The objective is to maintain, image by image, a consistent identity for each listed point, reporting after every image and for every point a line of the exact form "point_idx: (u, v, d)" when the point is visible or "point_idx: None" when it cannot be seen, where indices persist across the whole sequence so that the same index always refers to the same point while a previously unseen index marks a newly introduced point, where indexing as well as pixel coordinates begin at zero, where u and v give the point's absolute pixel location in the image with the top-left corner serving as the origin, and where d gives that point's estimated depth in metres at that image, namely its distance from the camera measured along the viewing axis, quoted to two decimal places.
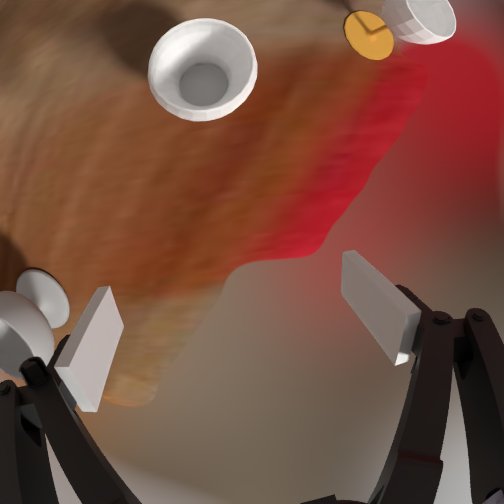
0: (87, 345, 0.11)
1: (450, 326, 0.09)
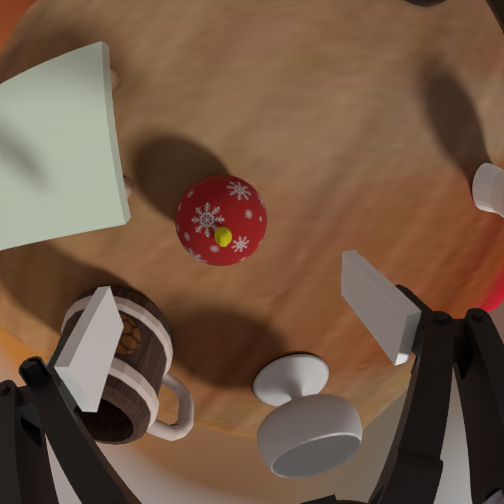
0: (87, 345, 0.11)
1: (450, 326, 0.09)
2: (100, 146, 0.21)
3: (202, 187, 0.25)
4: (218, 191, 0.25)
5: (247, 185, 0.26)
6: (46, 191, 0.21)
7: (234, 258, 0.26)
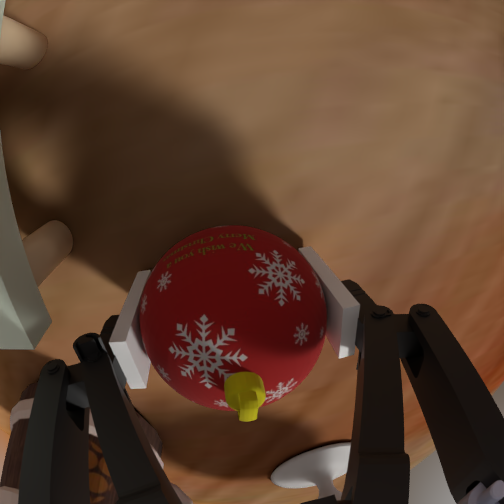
0: (137, 323, 0.12)
1: (390, 319, 0.10)
2: None
3: (190, 269, 0.11)
4: (231, 286, 0.10)
5: (294, 257, 0.12)
6: None
7: None
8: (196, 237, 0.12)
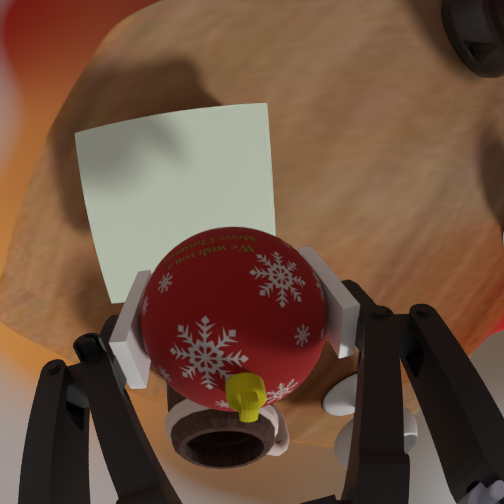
0: (137, 323, 0.12)
1: (390, 319, 0.10)
2: (263, 213, 0.25)
3: (191, 271, 0.11)
4: (232, 287, 0.10)
5: (294, 259, 0.12)
6: None
7: None
8: (197, 238, 0.12)
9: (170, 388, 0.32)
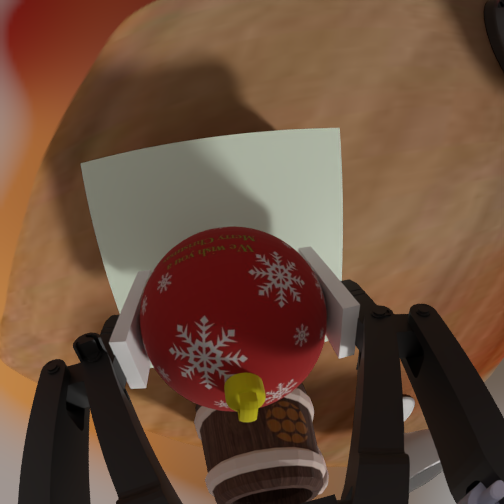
0: (137, 323, 0.12)
1: (390, 319, 0.10)
2: (330, 265, 0.20)
3: (191, 271, 0.11)
4: (231, 287, 0.10)
5: (293, 258, 0.12)
6: None
7: None
8: (196, 238, 0.12)
9: (208, 442, 0.27)
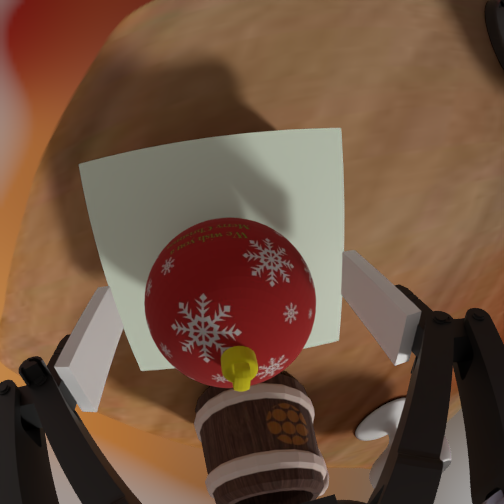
0: (87, 345, 0.11)
1: (450, 326, 0.09)
2: (331, 267, 0.20)
3: (191, 255, 0.12)
4: (227, 268, 0.11)
5: (284, 245, 0.13)
6: None
7: (258, 383, 0.13)
8: (196, 227, 0.13)
9: (208, 444, 0.27)
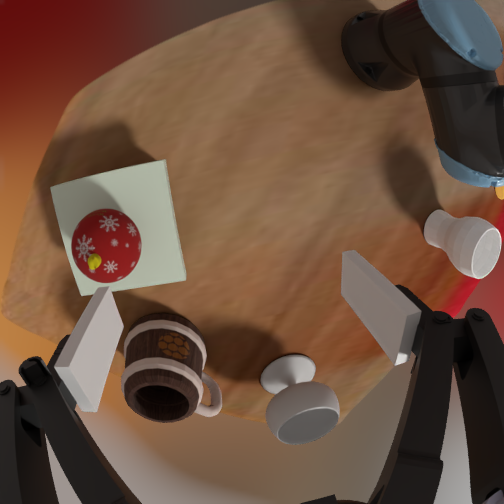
0: (87, 345, 0.11)
1: (450, 326, 0.09)
2: (169, 233, 0.37)
3: (83, 222, 0.29)
4: (92, 225, 0.28)
5: (118, 218, 0.30)
6: None
7: (110, 278, 0.30)
8: None
9: (126, 359, 0.44)
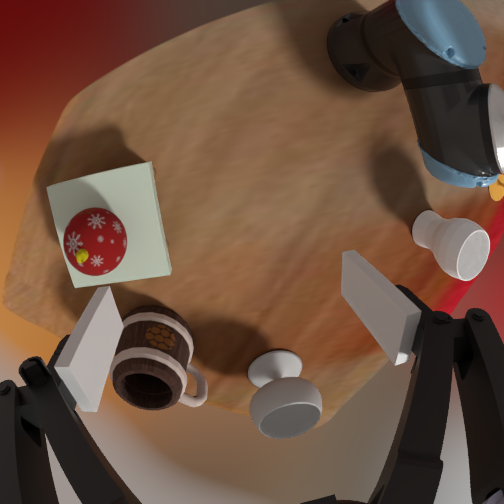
0: (87, 345, 0.11)
1: (450, 326, 0.09)
2: (154, 230, 0.39)
3: (74, 219, 0.31)
4: (81, 223, 0.30)
5: (105, 216, 0.32)
6: None
7: (97, 271, 0.32)
8: (80, 211, 0.32)
9: (116, 348, 0.46)
